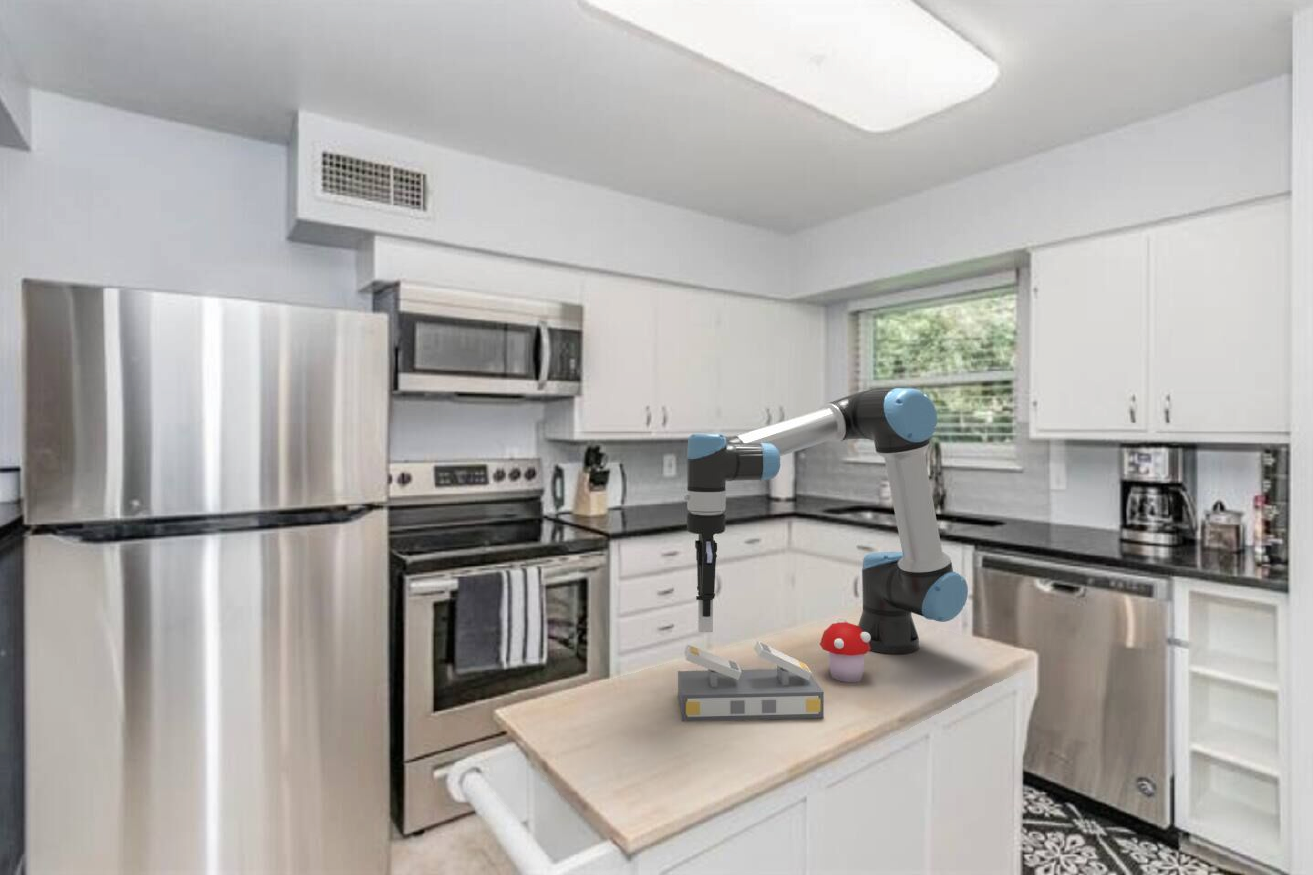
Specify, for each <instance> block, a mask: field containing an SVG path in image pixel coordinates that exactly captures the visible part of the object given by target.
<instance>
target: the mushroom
mask: <svg viewBox="0 0 1313 875" xmlns="http://www.w3.org/2000/svg"><path fill="white" fill-rule="evenodd" d="M870 639H871V636H870V634H869V633H868V632H863V631H862V630H861V629H860V628H859V626H858V624H857V625H856V624H853V623H850V622H848V621H847V620H846V619H844V618H839V619H838V620H837V622H836V623H835V622H834V623H831V624H830V626H828V627H827V628H826V629H824V631H823V633H822V637H821V640H820V642H819V646H820V647H821V649H822V650H823V651H826V652H829V653H828V657H827V659H828V666H829V671H830V676H831V678H833V679H834V680H836V681H839V682H845V683H854V682H855V683H857V682H859V681H861V680H862V679H863V674H864V668H865V663H866V661H865V658H864V657H865V656H864V655H866V654H867V653H868V652H869V651H871V648H870V644H869V641H870Z"/></svg>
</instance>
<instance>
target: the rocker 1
mask: <svg viewBox="0 0 1313 875" xmlns="http://www.w3.org/2000/svg"><path fill="white" fill-rule="evenodd" d="M684 656H685V657H684V658H685V660H686V661H688V662H690V663H692V664H695V665H697V666H700V667H703V668H705V669H707V670H708V669H710V670H713V671H716V672H718V673H721V674H724V675H726V676H729V677H731V678H734V679H737V680H739V678H740V675H741V673H742V672H741V670H742V669H741V667H740V666H739V663H738V662H735V661H732V660H729V659H727V658H724V657H722V656H719V655H717V654H714V653H712V652H708V651H706V650H704V649H701V648H698V647H695V646H693V645H691V644H686V647H685V649H684Z"/></svg>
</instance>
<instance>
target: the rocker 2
mask: <svg viewBox="0 0 1313 875" xmlns="http://www.w3.org/2000/svg"><path fill="white" fill-rule="evenodd" d="M753 649H754V651H755V653H756V655H757V657H758V658H760V659H763V660H764V661H767V662H769V663H771V664H773V665H775V666H776V667H777V666H779V667H781V668H783V669H785V670H787V671H790V672H792V673H794V674H796V675H798V676H800V677H802V678H804V679H806V680H808V681H809V679H810V677H811V675H812V674H813V672H812V671H811V670H810V668H809V667H808V665H807V664H806V663H804V662H803V661H800V660H798V659H796V658H793V657H792V656H790V655H787V654H786V653H784V652H781V651H779V650H777V649H775V648H773V647H770V646H769V645H766V644H765V643H762V642H760V641H756V643H755V646H754V648H753ZM812 676H813V675H812Z"/></svg>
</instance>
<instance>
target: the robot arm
mask: <svg viewBox="0 0 1313 875" xmlns="http://www.w3.org/2000/svg"><path fill="white" fill-rule="evenodd" d="M936 426H938V413H937V410H936V406H935V405H934V402H933V401H932V399H931V398H930V397H929V396H928V395H927V394H925V393H924V392H923V391H921V390H920V389H916V388H906V387H896V388H893V387H892V388H883V389H868V390H863V391H859V392H856V393H852V394H850V395H847V396H844V397H841V398H838V399H836V400H833V401H830V402H827V403H824V404H822V405H821V406H820V408H819V409H818V410H816V411H812V412H809V413H805V414H802V415H798V416H796V417H795V416H794V417H792V418H790V419H785V420H781V421H779V422H776V423H773V424H770V425H769V424H768V425H767V426H766V425H765V426H763V427H760V428H757V429H754V430H750V431H746V432H743V433H740V434H737V435H733V436H731V437H727V438H726V436H725V435H724V433H692V434H691V435H689V437H688V441H687V448H686V451H687V452H686V461H687V462H686V465H687V467H686V468H687V469H686V470H687V483H686V484H687V487H686V488H687V494H685V495H684V496H683V499H684V500H685V501H687V503H686V504H687V510H688V511H689V512H688V513H687V514H686V531H688V532H689V533H691V534H695V535H698V540H697V539H695V541H694V548H695V549H696V550H695V551H696V554H695V556H696V557H695V558H696V559H695V560H696V568H697V570H696V571H697V572H696V573H697V574H696V575H697V576H696V577H697V586H696V588H697V590H696V591H698V592H697V595H696V596H695V599H696V601H697V602H698V605H697V606H698V607H697V608H698V610H697V611H698V613H697V615H698V617H697V618H698V620H697V621H698V622H697V625H698V626H697V627H698V629H697V631H698V633H713V632H714V631H713V630H714V599H715V596H716V594H715V592H716V590H715V589H716V588H715V587H716V567H717V566H716V564H717V558H718V555H717V553H718V552H717V551H718V542H716V540H715V539H714V535H716V534H717V535H719V534H722V533H723V534H724V533H725V531H726V515H725V513H724V512H725V510H727V508H726V507H727V506H726V502H727V500H726V498H727V491H726V485H727V484H726V483H727V482H732V481H737V482H738V481H760V482H762V481H763V480H764V481H765V480H772V479H774V478H776V476H778V474H779V472H780V469H781V457H782V456H785V455H789V454H792V453H795V452H798V451H801V450H804V449H807V448H811V447H813V446H816V445H817V446H818V445H819V444H823V443H825V442H828V441H829V442H831V443H839V442H842V441H847V440H873V443H874V448H875V453H876V454H878V455H879V456H880V457H883V460H884V464H885V468H886V474H887V479H888V484H889V489H890V490H889V491H890V495H891V500H892V505H893V510H894V515H895V516H894V517H895V521H896V527H897V532H898V537H899V542H900V548H901V551H882V552H881V551H879V552H871V553H867V554H866V555H865V556H864V557H863V559H862V568H861V572H862V573H861V578H862V579H861V581H862V583H861V585H862V586H861V588H862V612H861V615H860V618H859V621H858V624H857V626H859V628H860V629H861V630H862V631H863V632H868V633H869V634H870V636H871V639H870V641H869V644H870V648H871V650H870V651H872V652H875V653H876V652H877V653H881V654H882V653H883V654H890V655H891V654H892V655H893V654H895V655H897V654H898V655H902V654H910V653H914V652H916V651H918V650H919V648H920V638H919V637H920V636H919V634H918V631H917V629H916V625H915V622H914V619H913V617H912V616H913V615H912V614H915V615H918V616H921V617H923V618H925V619H926V620H930V621H931V620H933V621H935V622H940V623H945V622H948V621H951V620H954V619H955V618H956V617H957V616H959V615H960V613H961V612H962V611H963V608H964V606H965V605H966V604H967V599H968V593H969V587H968V583H967V581H966V579H965V577H963V576H962V575H961V574H960V573H958V572H956V571H954V568H953V562H952V559H951V557H950V555H948V554H947V553H945V552H944V551H943V549H942V542H941V538H940V532H939V525H938V520H937V516H936V511H935V510H936V509H935V505H934V500H933V493H932V487H931V482H930V476H929V472H928V471H929V470H928V466H927V461H926V455H925V452H926V450H927V448H929V446H930V444H931V441H930V438H931V437H932V436H933V435H934V432H936V428H935V427H936Z"/></svg>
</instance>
